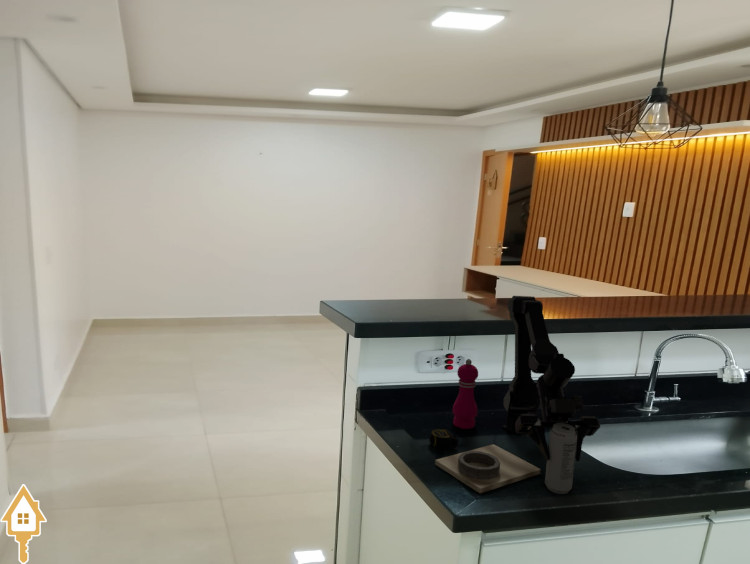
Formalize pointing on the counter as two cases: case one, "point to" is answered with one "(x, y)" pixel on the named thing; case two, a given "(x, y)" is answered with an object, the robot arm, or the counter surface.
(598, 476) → the counter surface
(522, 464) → the collar board
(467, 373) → the pepper mill
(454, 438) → the tape measure
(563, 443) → the energy drink can
